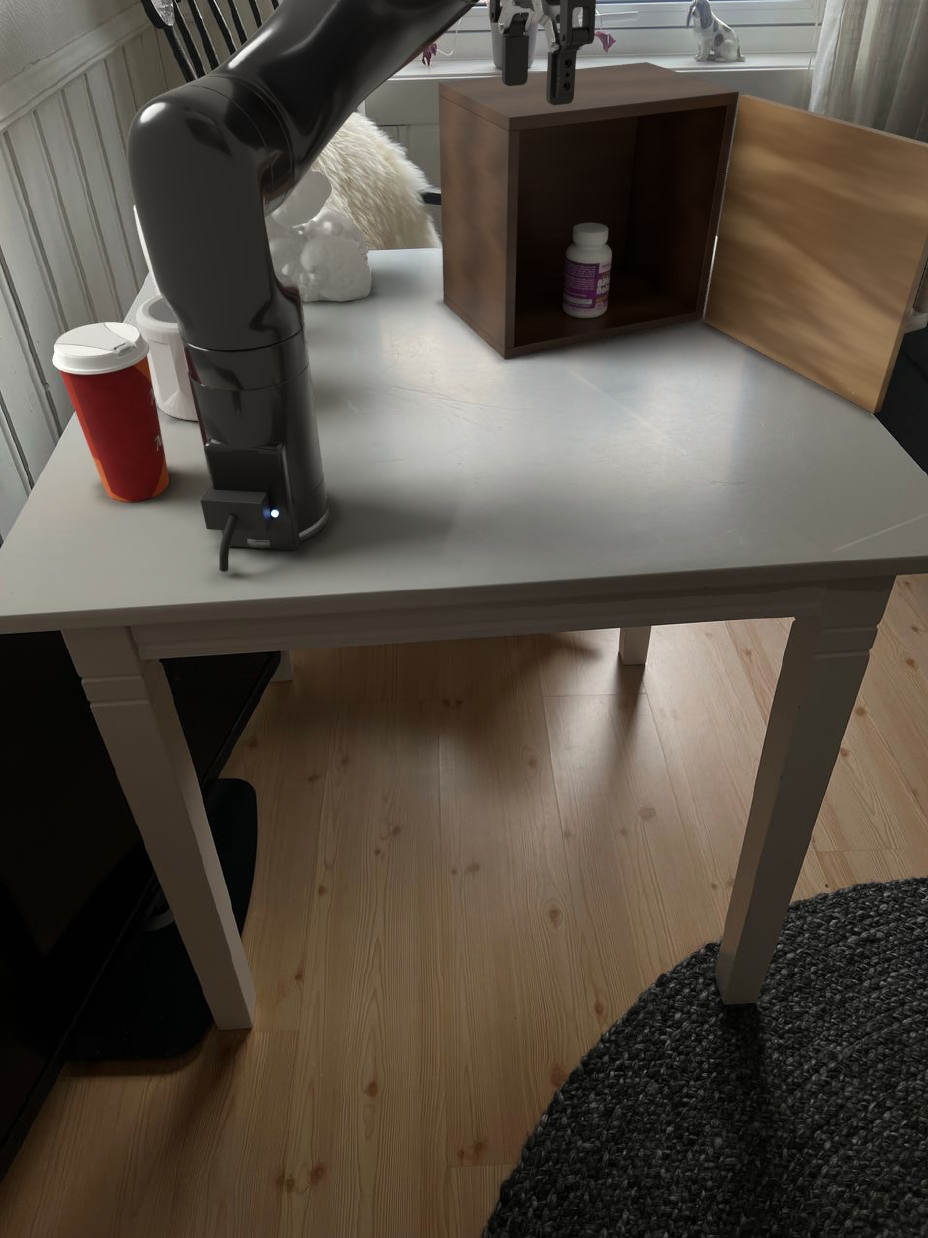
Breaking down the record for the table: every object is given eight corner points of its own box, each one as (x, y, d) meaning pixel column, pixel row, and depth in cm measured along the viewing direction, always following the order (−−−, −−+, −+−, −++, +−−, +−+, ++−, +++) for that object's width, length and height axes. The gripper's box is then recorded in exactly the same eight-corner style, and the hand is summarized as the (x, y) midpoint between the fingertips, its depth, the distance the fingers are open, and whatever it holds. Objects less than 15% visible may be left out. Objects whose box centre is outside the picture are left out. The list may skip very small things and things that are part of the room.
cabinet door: (747, 310, 114) (789, 87, 98) (921, 398, 96) (1006, 142, 81) (703, 321, 112) (739, 94, 96) (873, 413, 94) (952, 153, 78)
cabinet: (702, 319, 112) (739, 91, 97) (504, 359, 105) (509, 117, 89) (625, 270, 125) (646, 61, 109) (443, 302, 117) (438, 82, 102)
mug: (282, 396, 98) (269, 303, 92) (196, 434, 92) (175, 337, 86) (207, 359, 105) (189, 270, 99) (122, 392, 99) (98, 299, 93)
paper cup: (198, 477, 86) (165, 331, 77) (135, 517, 81) (92, 366, 72) (139, 455, 89) (101, 312, 80) (74, 492, 84) (26, 344, 75)
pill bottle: (605, 321, 109) (612, 236, 103) (559, 318, 110) (564, 233, 104) (608, 303, 113) (616, 221, 107) (565, 300, 114) (570, 218, 108)
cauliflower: (419, 226, 112) (264, 141, 101) (346, 374, 120) (196, 309, 109) (381, 191, 126) (243, 113, 116) (319, 325, 134) (184, 264, 124)
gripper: (639, -153, 65) (617, 106, 76) (546, -155, 75) (537, 74, 86) (543, -151, 63) (534, 116, 74) (460, -153, 73) (462, 82, 84)
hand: (536, 93), depth 80 cm, fingers open, 8 cm apart
